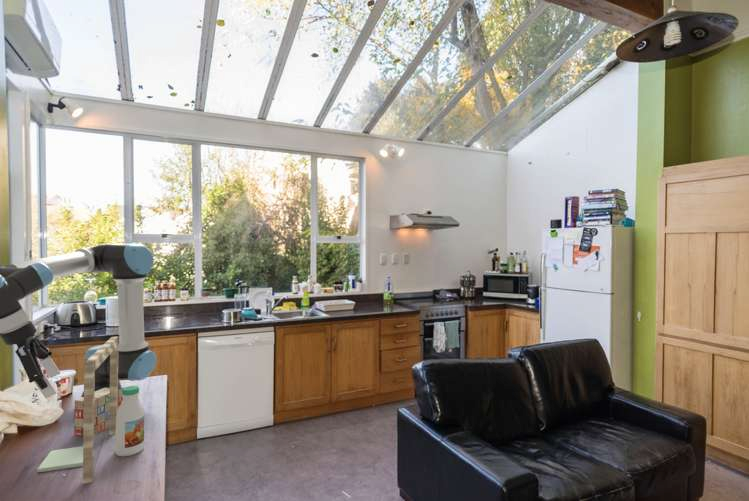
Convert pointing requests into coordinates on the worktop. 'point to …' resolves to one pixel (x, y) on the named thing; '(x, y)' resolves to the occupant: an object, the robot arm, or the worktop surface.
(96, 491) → the worktop surface
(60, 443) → the worktop surface
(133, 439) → the milk bottle
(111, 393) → the door frame
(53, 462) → the sage mat
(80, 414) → the stack of blocks
